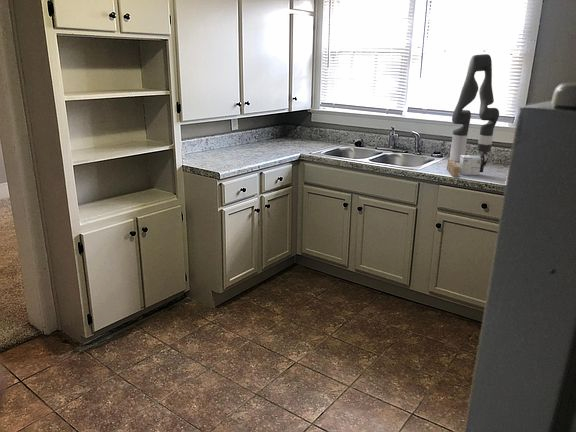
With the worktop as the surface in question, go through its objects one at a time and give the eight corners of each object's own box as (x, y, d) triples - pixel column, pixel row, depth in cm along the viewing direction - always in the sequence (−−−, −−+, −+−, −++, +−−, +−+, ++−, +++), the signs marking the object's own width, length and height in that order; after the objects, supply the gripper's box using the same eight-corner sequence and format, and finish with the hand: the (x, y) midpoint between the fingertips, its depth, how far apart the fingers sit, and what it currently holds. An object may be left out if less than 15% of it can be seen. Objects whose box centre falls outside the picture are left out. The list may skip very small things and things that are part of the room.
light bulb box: (475, 172, 288) (478, 155, 284) (479, 175, 281) (482, 157, 278) (457, 172, 288) (460, 154, 285) (461, 175, 282) (463, 156, 278)
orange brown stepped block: (446, 169, 295) (447, 159, 293) (451, 169, 295) (453, 159, 293) (453, 177, 277) (454, 166, 275) (458, 177, 276) (459, 167, 274)
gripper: (475, 140, 284) (471, 169, 290) (481, 144, 272) (476, 174, 277) (488, 141, 284) (484, 169, 289) (494, 145, 271) (490, 174, 277)
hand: (480, 172), depth 283 cm, fingers closed
